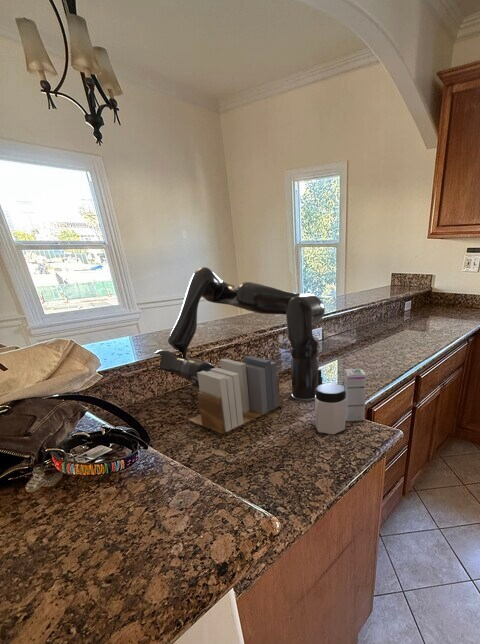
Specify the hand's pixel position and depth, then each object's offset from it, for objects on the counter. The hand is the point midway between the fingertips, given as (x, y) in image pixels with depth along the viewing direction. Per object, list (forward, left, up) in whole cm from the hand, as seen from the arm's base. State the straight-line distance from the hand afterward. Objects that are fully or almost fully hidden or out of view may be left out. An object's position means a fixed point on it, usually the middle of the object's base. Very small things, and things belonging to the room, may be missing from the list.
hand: (231, 381), depth 107 cm
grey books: (-7, +4, -9) cm, 12 cm away
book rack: (0, +4, -9) cm, 10 cm away
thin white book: (0, +1, -9) cm, 9 cm away
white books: (+7, +10, -9) cm, 14 cm away
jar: (-19, +26, -10) cm, 34 cm away
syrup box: (-29, +24, -10) cm, 39 cm away
